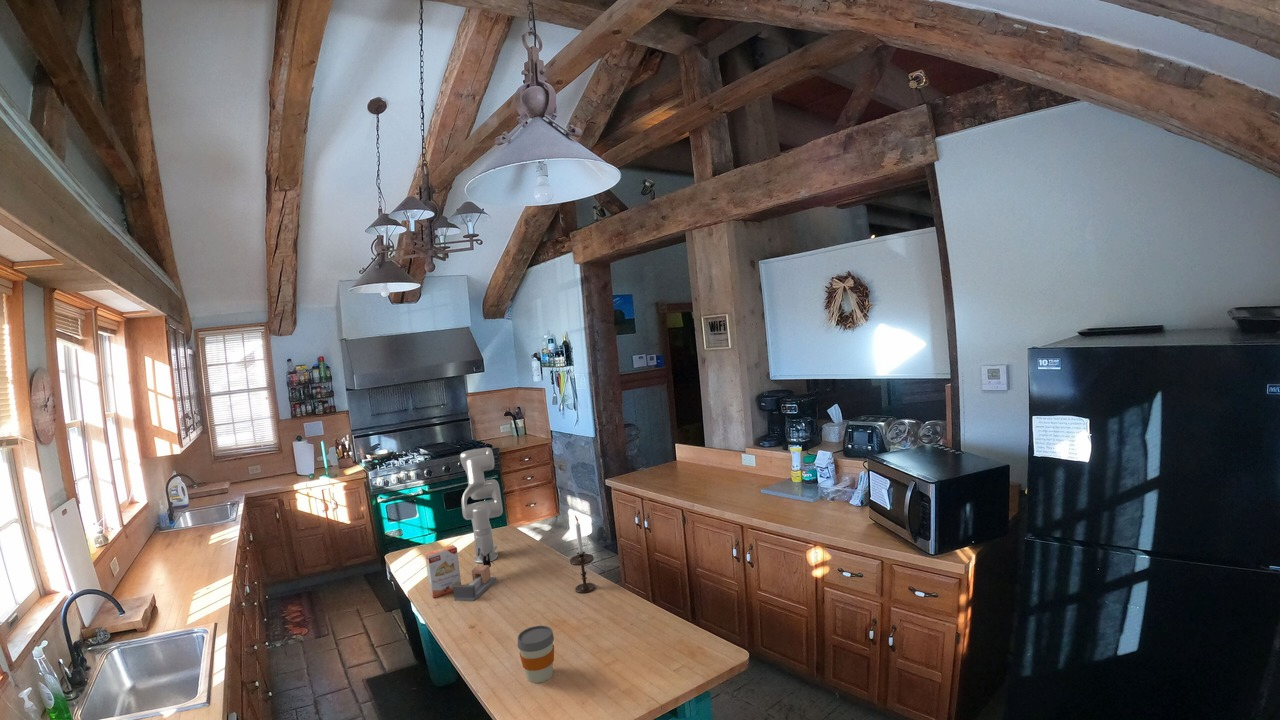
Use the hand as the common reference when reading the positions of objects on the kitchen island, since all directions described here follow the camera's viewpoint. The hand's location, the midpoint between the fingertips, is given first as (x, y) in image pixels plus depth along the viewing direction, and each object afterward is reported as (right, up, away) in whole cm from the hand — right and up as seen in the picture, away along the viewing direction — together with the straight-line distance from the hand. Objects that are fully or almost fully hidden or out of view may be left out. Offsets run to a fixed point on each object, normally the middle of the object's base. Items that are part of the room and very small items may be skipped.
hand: (487, 567), depth 304 cm
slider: (-1, -5, -6) cm, 7 cm away
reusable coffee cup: (+41, -8, -90) cm, 99 cm away
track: (-2, -7, -11) cm, 14 cm away
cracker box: (-17, -9, -10) cm, 22 cm away
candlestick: (+51, -2, -23) cm, 56 cm away
